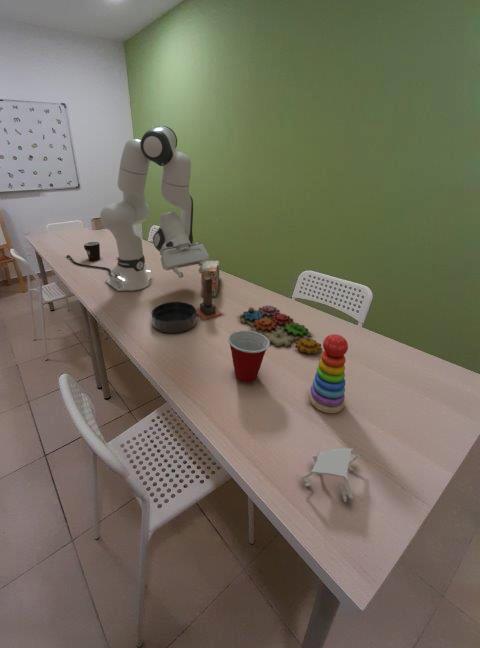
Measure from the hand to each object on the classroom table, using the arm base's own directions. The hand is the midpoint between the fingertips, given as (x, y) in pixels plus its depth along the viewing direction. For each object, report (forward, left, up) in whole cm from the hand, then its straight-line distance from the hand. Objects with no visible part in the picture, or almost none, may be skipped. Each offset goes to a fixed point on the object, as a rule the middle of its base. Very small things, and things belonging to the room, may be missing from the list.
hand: (191, 274), depth 120 cm
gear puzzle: (+39, +1, -12) cm, 41 cm away
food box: (-3, +17, -12) cm, 21 cm away
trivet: (+11, -4, -12) cm, 17 cm away
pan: (+6, -17, -12) cm, 22 cm away
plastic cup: (+42, -25, -12) cm, 50 cm away
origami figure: (+70, -39, -12) cm, 81 cm away
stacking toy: (+62, -21, -12) cm, 66 cm away
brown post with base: (+11, -4, -12) cm, 17 cm away
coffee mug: (-86, +6, -12) cm, 87 cm away
